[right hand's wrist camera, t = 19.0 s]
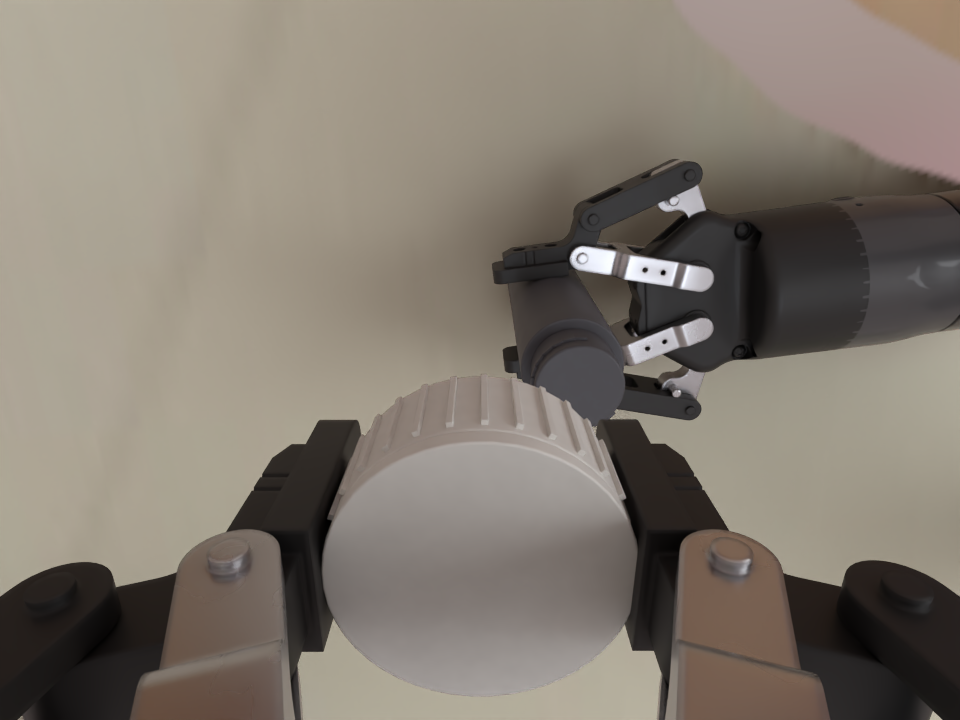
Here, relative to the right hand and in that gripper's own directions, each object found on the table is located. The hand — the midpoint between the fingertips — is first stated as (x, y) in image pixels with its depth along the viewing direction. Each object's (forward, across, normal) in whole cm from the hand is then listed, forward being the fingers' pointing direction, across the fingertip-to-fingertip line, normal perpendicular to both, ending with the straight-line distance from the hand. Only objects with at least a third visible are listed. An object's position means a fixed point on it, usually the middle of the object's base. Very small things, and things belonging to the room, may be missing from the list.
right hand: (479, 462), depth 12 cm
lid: (-3, 0, 0) cm, 3 cm away
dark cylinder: (+26, +4, -3) cm, 27 cm away
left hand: (+20, +1, -3) cm, 20 cm away
